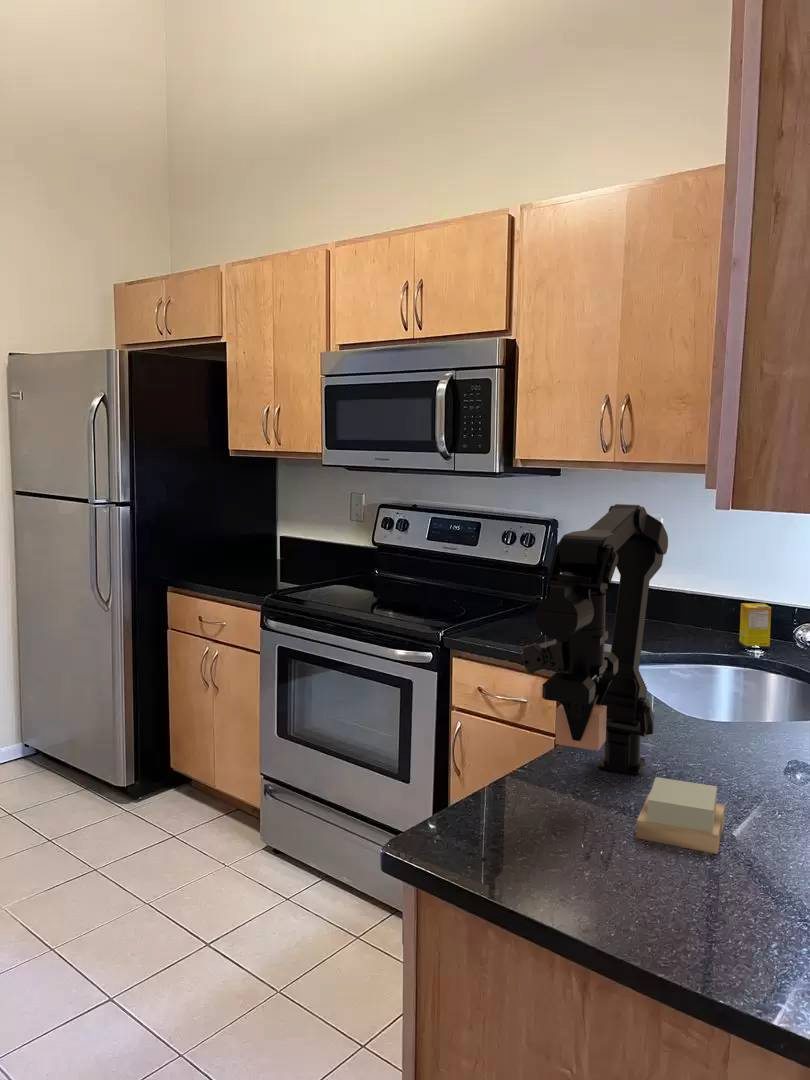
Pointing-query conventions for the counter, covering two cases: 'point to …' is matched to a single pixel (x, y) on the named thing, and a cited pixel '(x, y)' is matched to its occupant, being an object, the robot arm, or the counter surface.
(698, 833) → the tower base
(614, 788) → the counter surface
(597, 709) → the terracotta brick
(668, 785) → the tower top
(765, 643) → the supplement box
